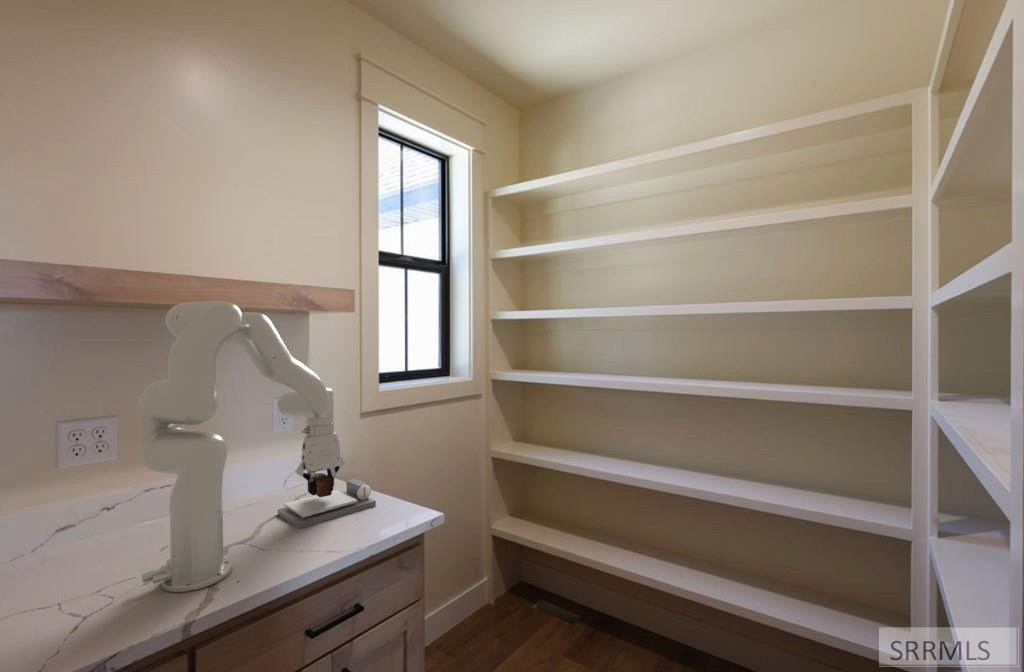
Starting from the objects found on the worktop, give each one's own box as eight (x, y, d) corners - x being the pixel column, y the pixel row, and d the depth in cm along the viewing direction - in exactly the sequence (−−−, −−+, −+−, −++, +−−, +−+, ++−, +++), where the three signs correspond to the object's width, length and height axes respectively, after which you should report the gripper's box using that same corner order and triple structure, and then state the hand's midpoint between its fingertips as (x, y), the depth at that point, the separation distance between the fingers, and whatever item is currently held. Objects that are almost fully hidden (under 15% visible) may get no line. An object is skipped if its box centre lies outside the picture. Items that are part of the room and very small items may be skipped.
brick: (333, 495, 137) (333, 479, 137) (319, 498, 134) (318, 481, 134) (322, 486, 145) (322, 470, 145) (308, 488, 143) (308, 473, 143)
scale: (299, 528, 127) (298, 506, 127) (277, 514, 138) (277, 493, 138) (376, 505, 144) (376, 485, 144) (352, 494, 155) (351, 475, 155)
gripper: (296, 436, 131) (297, 502, 131) (353, 427, 143) (354, 487, 143) (285, 432, 136) (286, 496, 136) (341, 424, 148) (342, 482, 148)
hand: (321, 491), depth 140 cm, fingers closed on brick, 4 cm apart
